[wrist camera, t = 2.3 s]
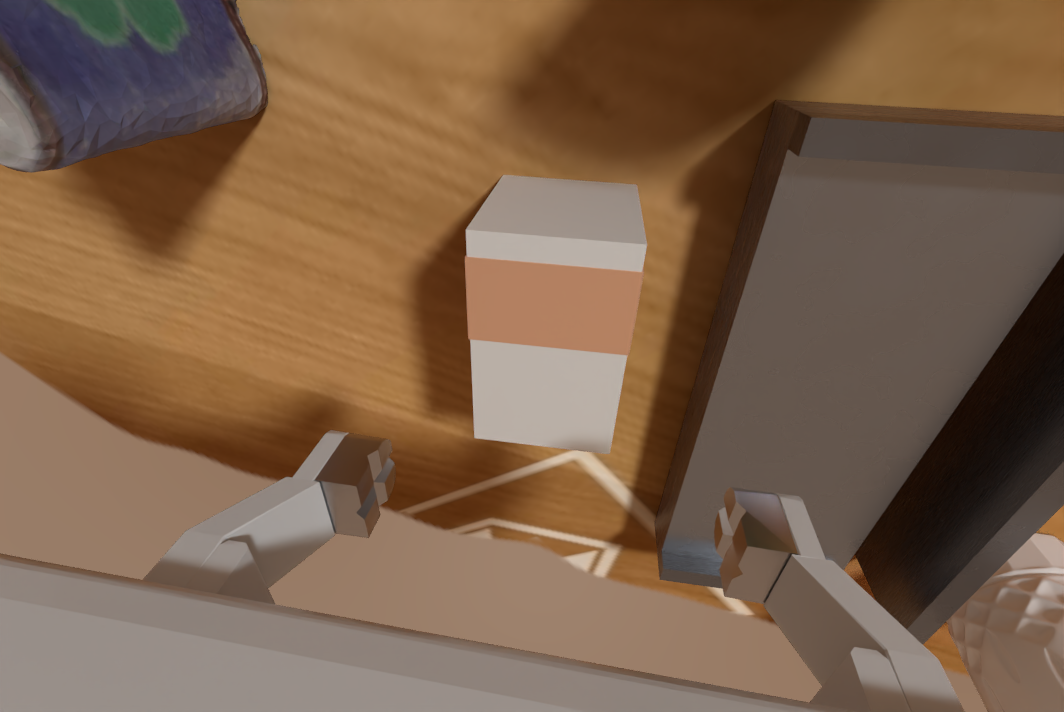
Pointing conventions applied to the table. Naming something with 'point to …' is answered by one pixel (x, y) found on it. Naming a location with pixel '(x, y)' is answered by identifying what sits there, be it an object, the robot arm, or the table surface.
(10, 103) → the flask
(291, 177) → the table surface
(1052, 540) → the white cup
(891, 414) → the dark grey tray
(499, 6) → the table surface
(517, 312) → the block
